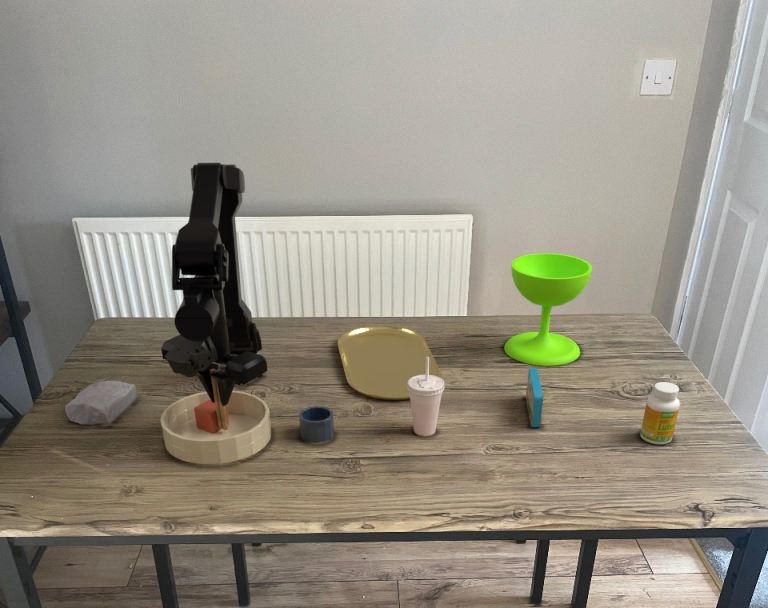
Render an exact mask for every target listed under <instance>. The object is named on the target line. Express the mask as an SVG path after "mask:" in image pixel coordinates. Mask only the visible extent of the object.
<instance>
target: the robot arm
mask: <svg viewBox="0 0 768 608" xmlns="http://www.w3.org/2000/svg"><path fill="white" fill-rule="evenodd" d="M190 176H191V177H190V179H191V191H192V194H191V195H192V196H191V201H190V210H189V217H188V220H187V223H186V224H185V225H182V227H181V228H179V229H178V232H177V236H176V239H175V243H174V244H172V246H171V290H172V291H182V296H183V297H182V301H181V303H180V305H179V307H178V308H177V311H176V313H175V315H174V326H175V329H176V332H178V334H177V335H175V336H174V337H172V338H169V339H168V340H165V341H163V343H162V346H161V348H160V350H161V355H162V359H163V360H164V361H165V360H166V361H167V363H168V365H169V366H170V369H171V370H172V372H173V373H174V374H178V375H182V376H185V377H186V378H194V377H197V378H198V379H199V382H200V383H201V385H202V386H203V388H204V390H205V392H207V394H208V396H209V398H210V400H211V401H212V402H213V403H215V401H214V394H213V387H212V380H211V377H212V378H214V379H215V380H216V381H217V385H218V391H219V396H220V400H221V404H222V406H225V405H227V404H228V402H229V399H230V396H231V394H232V391H234V387H235V385H236V386H241V387H242V386H245V385H246V384H248V383H250V382H251V381H254V380H255V379H257V378H258V379H260V378H262V377H263V375H264V374H265V373H266V372H268V362H267V358H266V357H265V356H263V355H262V354H258V352H259V351H262V350H263V343H262V337H261V333H260V330H259V329H258V327H257V325H256V323H255V322H253V314H252V311H251V309H250V308H249V307H248V305H247V303H246V302H245V301H244V300H243V296H242V283H241V273H240V272H241V271H240V261H239V260H240V259H239V249H238V247H239V246H238V237H237V236H238V235H237V224H236V216H237V214H238V212H239V210H240V207H241V205H242V203H243V194H244V193H245V191H246V187H245V186H246V183H245V182H246V181H245V175H244V171H243V170H242V169H241V168H239V167H237V164H225V163H221V162H197V164H193V166H192V167H191V168H190ZM180 275H182V276H194V277H180ZM210 369H215V370H218V371H217V372H215V373H213V374H211V375H209V371H210Z"/></svg>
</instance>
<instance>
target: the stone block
mask: <svg viewBox="0 0 768 608" xmlns="http://www.w3.org/2000/svg"><path fill="white" fill-rule="evenodd" d="M137 391H138V390H137V388H136V385H135V384H133V383H132V384H131V383H128V382H122V381H117V380H104V381H98V382H93V383H91V384H89V385H87V386H86V387H85V388H84V389H82V390H81V391H80V392H78V394H77V395H76V396H75V398H74V399H72V400H71V401H70V402H68V403H67V404H66V405H65V406H64V409H65V410H64V411H65V415H66V416H67V418H68V419H69V421H70V422H73V423H76V424H79V425H83V426H84V425H88V426H89V425H91V426H94V425H96V424H105V425H108V424H112V423H113V422H114V421H115V419H117V418H118V417H119V416H120V415H121V414H122V413H123V412H124V411H126V409H128V408H129V407H131V405H133V403H134V402H135V401H136V400H137V397H138V392H137Z"/></svg>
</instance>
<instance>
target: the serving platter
mask: <svg viewBox="0 0 768 608" xmlns="http://www.w3.org/2000/svg"><path fill="white" fill-rule="evenodd" d="M337 348H338V353H339V356H340V360H341V364H342V369H343V371H344V375H345V379H346V382H347V384H348V386H350V387H351V389H353V390H354V391H355V392H357V393H358V394H360V395H363V396H365V397H368V398H372V399H375V400H381V401H407V400H410V392H409V390H408V389H407V386H408V380H409V379H410V378H412V377H414V376H417V375H425V373H426V357H429V375H433V376H437V377H439V378H441V379H442V371H441V370H440V367H439V365H438V364H437V361H436V359H435V357H434V355H433V354H432V351H431V349H430V347H429V345H428V343H427V341H426V339H425V337H424V336H423V335H422V334H421V333H419V332H418V331H416V330H414V329H412V328H408V327H405V326H400V325H390V324H373V325H372V324H371V325H366V326H361V327H357V328H353V329H351V330H348V331H346V332H344V333H343V334H342V335H340V337H339V338H338V340H337Z"/></svg>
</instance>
